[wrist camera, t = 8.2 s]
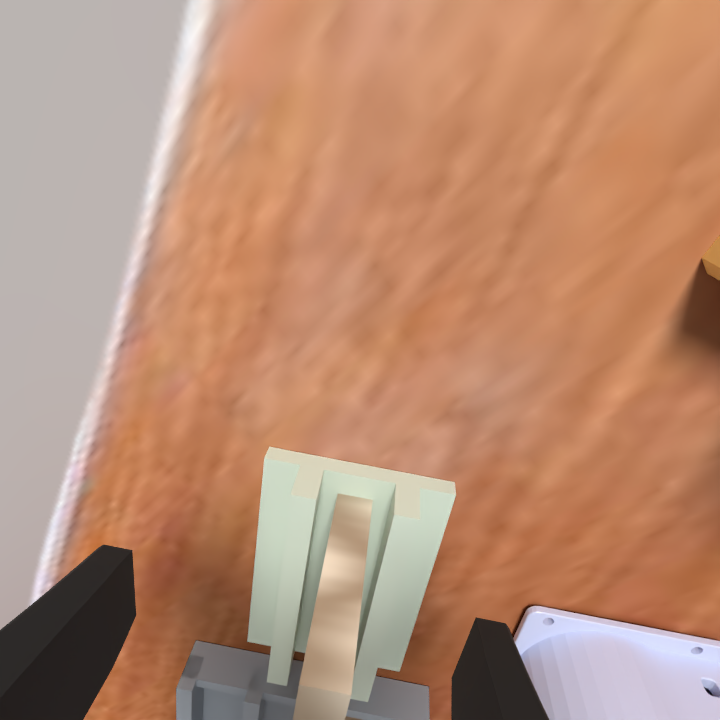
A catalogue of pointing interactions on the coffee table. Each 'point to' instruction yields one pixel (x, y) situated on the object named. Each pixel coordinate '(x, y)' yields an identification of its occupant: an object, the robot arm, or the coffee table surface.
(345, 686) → the birch sheet
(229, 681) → the tray
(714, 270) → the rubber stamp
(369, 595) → the stand
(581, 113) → the coffee table surface
